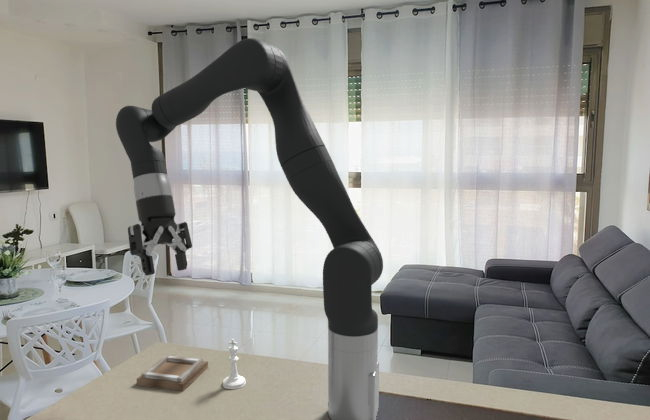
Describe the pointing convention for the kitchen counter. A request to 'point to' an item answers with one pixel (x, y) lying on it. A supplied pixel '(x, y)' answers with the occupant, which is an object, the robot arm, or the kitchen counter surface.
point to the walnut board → (173, 373)
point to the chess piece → (233, 370)
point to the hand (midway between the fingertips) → (166, 272)
